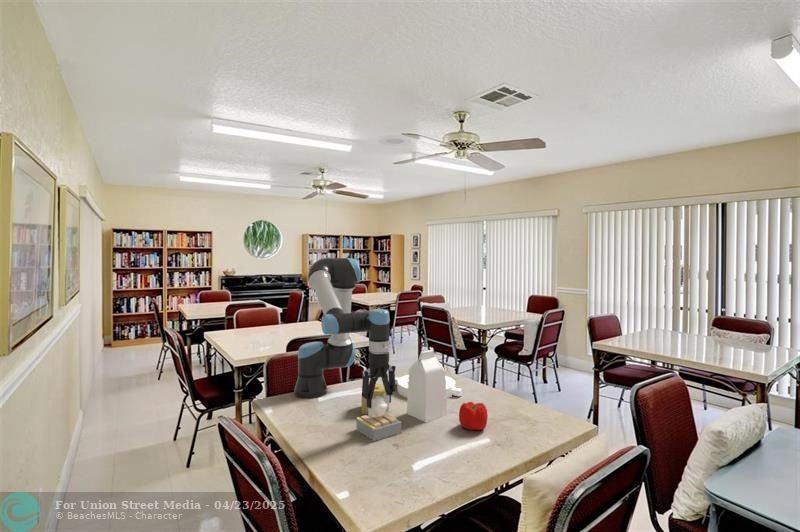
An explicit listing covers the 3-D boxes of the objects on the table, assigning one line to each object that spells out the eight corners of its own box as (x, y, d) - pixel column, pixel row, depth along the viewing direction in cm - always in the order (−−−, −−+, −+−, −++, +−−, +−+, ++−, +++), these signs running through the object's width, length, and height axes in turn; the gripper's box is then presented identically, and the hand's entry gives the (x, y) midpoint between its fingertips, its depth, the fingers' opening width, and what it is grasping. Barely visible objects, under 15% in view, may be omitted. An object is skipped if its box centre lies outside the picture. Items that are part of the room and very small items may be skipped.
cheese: (388, 406, 173) (388, 383, 173) (385, 415, 162) (385, 391, 162) (365, 405, 174) (365, 382, 174) (360, 414, 163) (360, 390, 163)
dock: (356, 429, 149) (356, 416, 149) (383, 421, 156) (383, 409, 156) (373, 441, 139) (373, 427, 139) (401, 432, 147) (401, 419, 146)
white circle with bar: (464, 398, 184) (464, 388, 184) (406, 403, 177) (406, 393, 177) (442, 380, 211) (442, 371, 211) (391, 384, 204) (391, 375, 204)
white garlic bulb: (368, 413, 149) (368, 394, 149) (384, 410, 152) (384, 392, 151) (373, 419, 144) (373, 399, 143) (389, 416, 146) (389, 397, 146)
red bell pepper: (488, 422, 156) (488, 399, 156) (486, 435, 145) (486, 411, 144) (460, 419, 159) (461, 397, 159) (456, 432, 147) (457, 407, 147)
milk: (425, 422, 156) (426, 356, 155) (406, 413, 165) (407, 350, 164) (447, 414, 164) (447, 351, 163) (427, 406, 172) (428, 346, 172)
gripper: (362, 357, 139) (361, 423, 139) (405, 350, 150) (405, 411, 150) (351, 353, 145) (351, 416, 145) (394, 346, 156) (394, 405, 156)
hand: (378, 413), depth 148 cm, fingers closed on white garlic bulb, 6 cm apart
